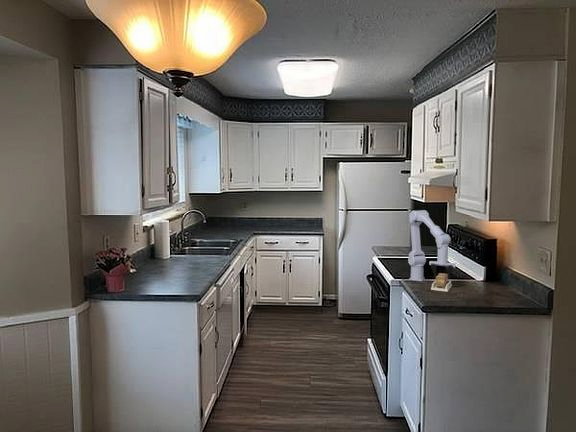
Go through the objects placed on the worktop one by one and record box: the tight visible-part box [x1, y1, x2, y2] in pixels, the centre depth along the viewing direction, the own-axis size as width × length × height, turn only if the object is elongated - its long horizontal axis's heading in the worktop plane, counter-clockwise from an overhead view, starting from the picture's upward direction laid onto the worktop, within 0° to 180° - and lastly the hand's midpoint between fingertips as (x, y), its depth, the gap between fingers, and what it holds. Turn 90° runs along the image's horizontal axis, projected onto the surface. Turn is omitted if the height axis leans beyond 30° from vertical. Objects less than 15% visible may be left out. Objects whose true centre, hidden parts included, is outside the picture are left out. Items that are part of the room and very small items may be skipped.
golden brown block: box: [435, 272, 449, 287], centre depth 262 cm, size 12×4×5 cm, turn 151°
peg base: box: [430, 280, 453, 293], centre depth 263 cm, size 14×9×3 cm, turn 150°
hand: (441, 278), depth 262 cm, fingers open, 7 cm apart
